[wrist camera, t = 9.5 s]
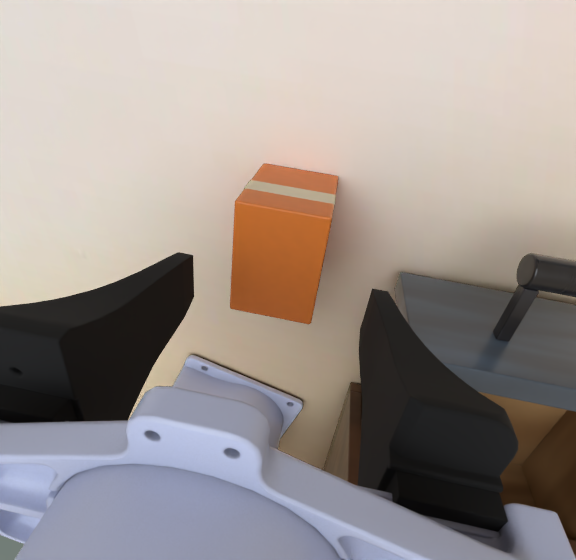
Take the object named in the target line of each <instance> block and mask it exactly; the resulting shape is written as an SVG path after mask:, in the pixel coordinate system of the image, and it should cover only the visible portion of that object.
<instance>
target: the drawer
mask: <svg viewBox="0 0 576 560" xmlns="http://www.w3.org/2000/svg"><path fill="white" fill-rule="evenodd" d="M517 282H518V284H519V285H518V287H517V289H516V290H515V292H514V293H510V292H505V291H499V290H494V289H489V288H483V287H478V286H472V285H467V284H462V283H456V282H451V281H446V280H440V279H435V278H430V277H424V276H419V275H414V274H408V273H403V272H400V274H399V277H398V280H397V283H396V286H395V296H396V303H397V307H398V309H399V310H400V312H401V314H402V315H403V317H404V318H405V320H406V321H407V323H408V324H409V325H410V327H411V328H412V330H413V331H414V332H415V333H416V335H417V336H418V337H419V339H420V340H421V341H422V342H423V343H424V345H425V346H426V347H427V348H428V349H429V350H430V351H431V352H432V353H433V354H434V355H435V356H436V357H437V358H438V359H439V360H440V361H441V362H442V363H443V364H444V365H445V366H446V367H447V368H448V369H450V370H451V371H452V372H453V373H454V374H455V375H457V376H458V377H459V378H460V379H462V380H463V381H464V382H465V383H467V384H468V385H469V386H471V387H472V388H474V389H475V390H476V391H478V392H479V393H481V394H482V395H484V396H485V397H487V398H488V399H490V400H492V401H493V402H495V403H496V404H498V405H499V406H501V407H503V408H504V409H505V411H506V413H507V415H508V417H509V419H510V421H511V423H512V426H513V428H514V431H515V434H516V437H517V439H518V451H517V453H516V455H515V457H514V458H513V459H512V461H511V462H510V463H509V465H508V466H507V467H506V469H505V470H504V471H503V472H502V474H501V475H500V478H501V482H502V485H503V491H502V492H501V493H499V494H500V497H501V500H502V503H503V506H504V505H505V504H510V503H517V504H523V505H527V506H532V507H536V508H541V509H546V510H550V511H554V512H556V513H557V514H558V516H559V519H560V521H561V524H562V526H563V529H564V531H565V533H566V536H567V538H568V539H570V540H575V541H576V305H574V304H569V303H563V302H558V301H553V300H547V299H542V298H537V297H536V296H537V295H538V293H539V291H538V290H540V291H546V292H551V293H557V294H562V295H567V296H573V297H576V261H572V260H567V259H561V258H555V257H550V256H544V255H539V254H533V253H530V254H527V255H525V256H524V257H523V258H522V260H521V261H520V263H519V266H518V269H517ZM361 425H362V419H361Z"/></svg>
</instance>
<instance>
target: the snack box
mask: <svg viewBox="0 0 576 560" xmlns="http://www.w3.org/2000/svg"><path fill="white" fill-rule="evenodd" d="M337 184H338V176H334V175H328V174H322V173H316V172H311V171H305V170H299V169H293V168H287V167H282V166H276V165H270V164H263V165H262V166H261V168H260V169H259V170H258V172H257V173H256V174H255V176H254V177H253V178H252V180H250V181H249V182H248V184H247V185H246V186H245V188H244V190H243V192H242V193H241V194H240V196H239V197H238V198H237V200H236V201H235V212H234V233H233V254H232V275H231V296H230V308H231V309H235V310H240V311H245V312H250V313H255V314H260V315H265V316H270V317H275V318H280V319H285V320H290V321H295V322H300V323H305V324H310V323H311V320H312V315H313V311H314V306H315V301H316V296H317V291H318V286H319V281H320V276H321V271H322V266H323V261H324V256H325V251H326V246H327V241H328V237H329V232H330V227H331V222H332V216H333V211H334V206H335V200H336V190H337Z"/></svg>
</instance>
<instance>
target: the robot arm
mask: <svg viewBox="0 0 576 560" xmlns="http://www.w3.org/2000/svg"><path fill="white" fill-rule="evenodd" d="M193 297H194V278H193V255H189V254H184V253H176V254H174V255H172V256H169V257H167V258H165V259H163V260H162V261H160V262H158V263H156V264H154V265H152V266H150V267H148V268H146V269H144V270H142V271H139V272H137V273H135V274H133V275H130V276H128V277H126V278H124V279H121V280H119V281H117V282H114V283H111V284H109V285H106V286H103V287H100V288H97V289H94V290H91V291H87V292H83V293H79V294H76V295H72V296H68V297H63V298H59V299H54V300H48V301H42V302H36V303H29V304H20V305H11V306H1V307H0V535H2V536H5V537H7V538H10V539H12V540H15V541H18V542H20V543H23V544H24V546H23V547H22V549H21V550H20V552H19V553H18V555H17V556H16V558H15V559H14V560H576V558H575V555H574V553H573V550H572V548H571V545H570V543H569V541H568V538H567V536H566V533H565V531H564V529H563V526H562V524H561V521H560V519H559V516H558V514H557V513H556V512H554V511H550V510H546V509H541V508H536V507H532V506H527V505H523V504H517V503H510V504H505V505H504V506H503V503H502V500H501V497H500V494H499V493H501V492H502V491H503V485H502V482H501V478H500V475H501V474H502V472H503V471H504V470H505V469H506V467H507V466H508V465H509V463H510V462H511V461H512V459H513V458H514V457H515V455H516V453H517V451H518V439H517V437H516V434H515V431H514V428H513V426H512V423H511V421H510V419H509V417H508V415H507V413H506V411H505V409H504V408H503V407H501V406H499V405H498V404H496V403H495V402H493V401H492V400H490V399H488V398H487V397H485V396H484V395H482V394H481V393H479V392H478V391H476V390H475V389H474V388H472V387H471V386H469V385H468V384H467V383H465V382H464V381H463V380H462V379H460V378H459V377H458V376H457V375H455V374H454V373H453V372H452V371H451V370H450V369H448V368H447V367H446V366H445V365H444V364H443V363H442V362H441V361H440V360H439V359H438V358H437V357H436V356H435V355H434V354H433V353H432V352H431V351H430V350H429V349H428V348H427V347H426V346H425V345H424V343H423V342H422V341H421V340H420V339H419V337H418V336H417V335H416V333H415V332H414V331H413V330H412V328H411V327H410V325H409V324H408V323H407V321H406V320H405V318H404V317H403V315H402V314H401V312H400V310H399V309H398V307H397V305H396V304H395V302H394V300H393V299H392V297H391V296H390V294H389V292H387V291H382V290H377V289H372V291H371V295H370V298H369V301H368V305H367V308H366V312H365V315H364V319H363V322H362V325H361V329H360V341H359V361H360V376H361V391H362V425H361V443H360V459H359V473H358V486H357V485H354V484H352V483H350V482H348V481H345V480H343V479H341V478H339V477H337V476H334V475H332V474H330V473H328V472H326V471H323V470H321V469H319V468H317V467H315V466H312V465H310V464H308V463H306V462H304V461H301V460H299V459H297V458H295V457H293V456H290V455H288V454H286V453H284V452H282V451H279V450H278V447H279V442H280V438H281V437H282V436H283V434H284V433H285V432H286V430H287V429H288V427H289V426H290V425H291V423H292V422H293V421H294V419H295V418H296V416H297V415H298V414H299V412H300V411H301V410H302V408H303V402H302V401H301V400H300V399H298V398H295V397H293V396H290V395H288V394H286V393H283V392H281V391H278V390H276V389H274V388H271V387H269V386H267V385H264V384H262V383H259V382H257V381H255V380H252V379H250V378H248V377H245V376H243V375H240V374H238V373H236V372H233V371H231V370H229V369H226V368H224V367H221V366H219V365H217V364H214V363H212V362H209V361H207V360H205V359H202V358H200V357H198V356H195V355H189V356H188V357H187V359H186V361H185V364H184V366H183V368H182V370H181V372H180V374H179V375H178V377H177V379H176V381H175V383H174V385H173V387H171V386H156V387H154V388H152V389H150V390H149V391H147V392H145V394H144V396H143V397H142V399H141V401H140V402H139V404H138V406H137V407H136V409H135V411H134V412H133V414H132V416H131V417H130V419H129V420H128V418H129V416H130V413H131V411H132V409H133V407H134V404H135V402H136V400H137V398H138V396H139V394H140V392H141V389H142V387H143V385H144V383H145V381H146V379H147V377H148V375H149V373H150V371H151V369H152V367H153V365H154V364H155V362H156V360H157V359H158V357H159V355H160V354H161V352H162V351H163V349H164V348H165V346H166V345H167V343H168V342H169V340H170V339H171V337H172V336H173V334H174V333H175V331H176V329H177V328H178V326H179V325H180V323H181V322H182V320H183V319H184V317H185V315H186V313H187V311H188V309H189V307H190V304H191V302H192V300H193ZM205 366H206V367H205Z"/></svg>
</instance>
